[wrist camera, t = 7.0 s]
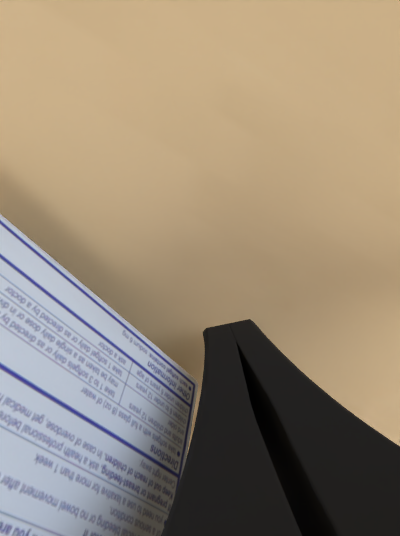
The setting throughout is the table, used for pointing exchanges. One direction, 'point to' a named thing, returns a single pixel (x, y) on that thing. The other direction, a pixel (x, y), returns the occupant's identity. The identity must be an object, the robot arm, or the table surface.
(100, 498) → the medicine box
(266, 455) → the robot arm
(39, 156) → the table surface
